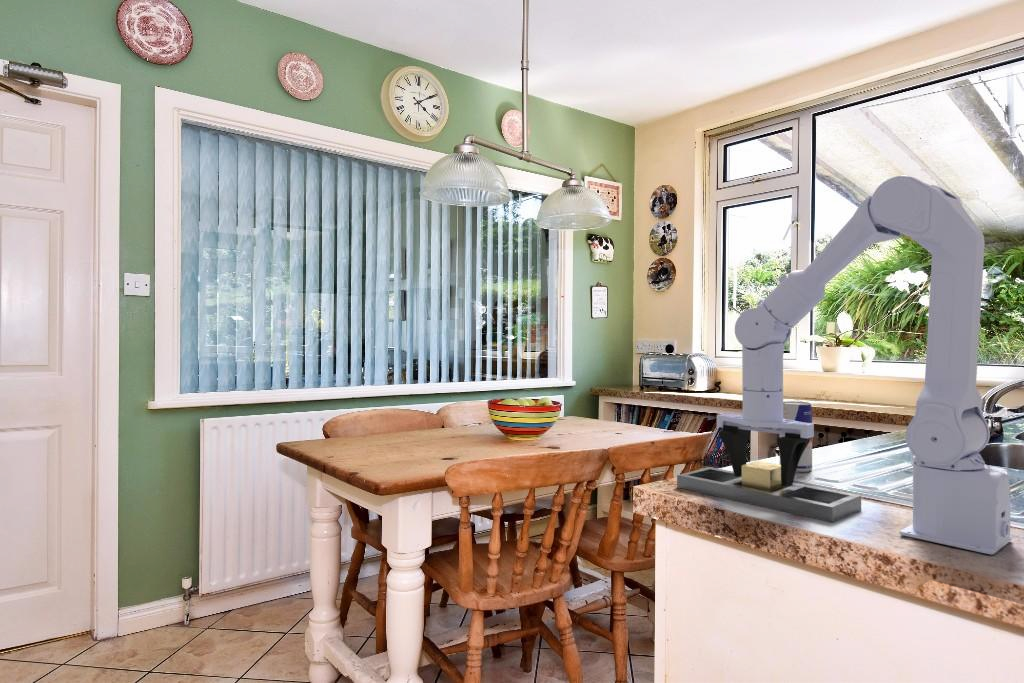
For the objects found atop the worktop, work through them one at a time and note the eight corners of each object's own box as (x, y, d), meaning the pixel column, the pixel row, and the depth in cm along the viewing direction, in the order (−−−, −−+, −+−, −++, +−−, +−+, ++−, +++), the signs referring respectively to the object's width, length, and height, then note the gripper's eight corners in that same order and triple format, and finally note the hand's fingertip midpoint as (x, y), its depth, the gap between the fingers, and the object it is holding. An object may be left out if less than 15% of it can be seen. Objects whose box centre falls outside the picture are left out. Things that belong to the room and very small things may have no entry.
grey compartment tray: (861, 509, 90) (861, 495, 90) (832, 522, 84) (832, 507, 84) (709, 478, 109) (708, 467, 109) (677, 487, 103) (677, 475, 103)
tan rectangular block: (785, 498, 96) (785, 465, 96) (770, 504, 93) (770, 470, 93) (757, 492, 100) (757, 460, 100) (741, 498, 97) (741, 465, 97)
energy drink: (815, 473, 112) (815, 404, 112) (783, 472, 113) (783, 404, 113) (808, 466, 117) (807, 401, 117) (776, 465, 118) (776, 401, 118)
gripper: (823, 391, 93) (823, 484, 93) (733, 385, 104) (734, 468, 104) (800, 394, 89) (800, 492, 89) (708, 388, 100) (709, 474, 100)
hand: (762, 479), depth 96 cm, fingers open, 7 cm apart
